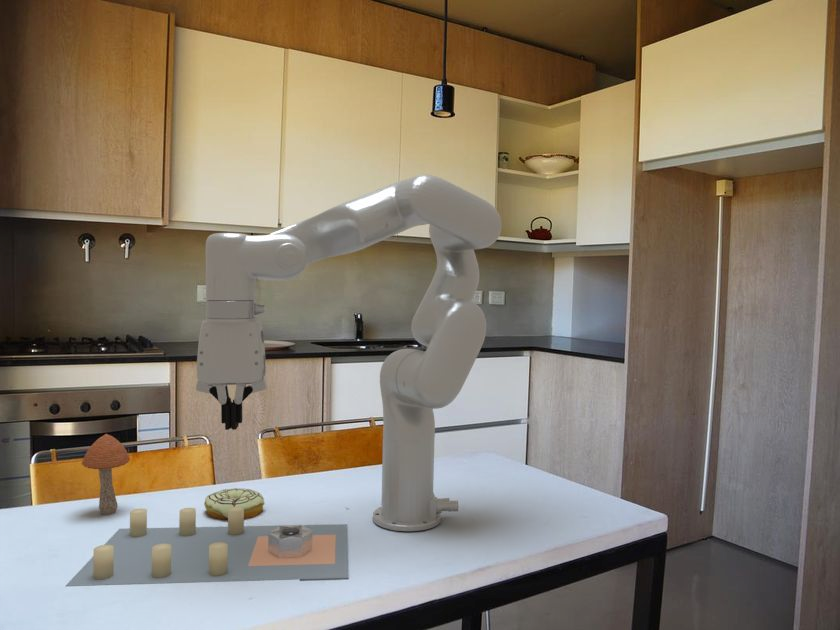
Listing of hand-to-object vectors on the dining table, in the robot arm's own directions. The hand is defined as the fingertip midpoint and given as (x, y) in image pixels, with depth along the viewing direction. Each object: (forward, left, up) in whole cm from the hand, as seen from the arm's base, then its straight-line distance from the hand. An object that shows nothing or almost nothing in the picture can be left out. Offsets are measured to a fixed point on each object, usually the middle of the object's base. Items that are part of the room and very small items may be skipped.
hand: (232, 427), depth 102 cm
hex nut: (-9, +1, -20) cm, 22 cm away
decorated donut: (+2, -19, -20) cm, 28 cm away
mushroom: (+25, -19, -20) cm, 38 cm away
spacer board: (+1, 0, -20) cm, 20 cm away
